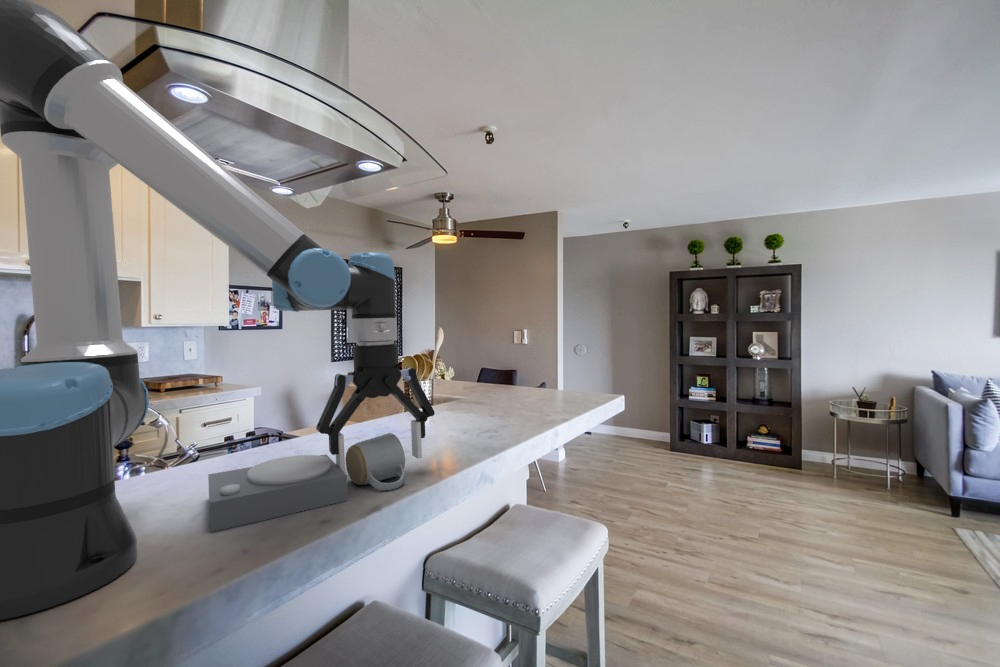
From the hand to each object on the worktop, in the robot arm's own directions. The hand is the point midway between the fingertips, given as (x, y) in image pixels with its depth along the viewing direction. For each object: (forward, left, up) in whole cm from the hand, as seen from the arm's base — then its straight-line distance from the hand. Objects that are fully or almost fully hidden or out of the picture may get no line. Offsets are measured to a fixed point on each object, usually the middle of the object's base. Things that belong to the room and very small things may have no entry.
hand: (380, 464), depth 79 cm
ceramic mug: (0, -1, -3) cm, 3 cm away
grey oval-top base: (-16, +1, -3) cm, 17 cm away
